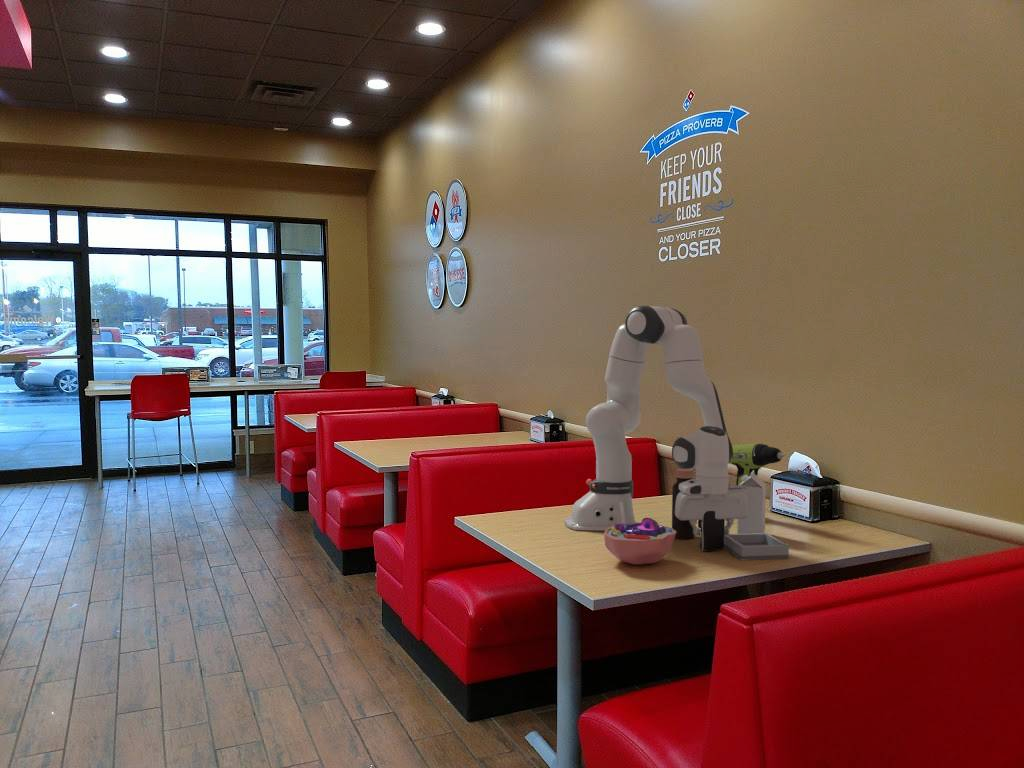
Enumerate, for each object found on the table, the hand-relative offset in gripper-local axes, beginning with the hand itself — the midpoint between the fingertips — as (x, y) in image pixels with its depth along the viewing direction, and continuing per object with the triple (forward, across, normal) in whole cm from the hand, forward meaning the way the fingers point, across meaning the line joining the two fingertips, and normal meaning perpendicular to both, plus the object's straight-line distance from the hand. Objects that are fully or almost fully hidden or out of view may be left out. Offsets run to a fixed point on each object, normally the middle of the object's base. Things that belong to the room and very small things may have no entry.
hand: (711, 534), depth 209 cm
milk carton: (+4, -18, -14) cm, 23 cm away
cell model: (+4, +23, +9) cm, 25 cm away
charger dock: (+4, -11, +4) cm, 12 cm away
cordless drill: (+4, -27, -31) cm, 41 cm away
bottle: (+4, +3, -14) cm, 15 cm away
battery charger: (+4, 0, 0) cm, 4 cm away
